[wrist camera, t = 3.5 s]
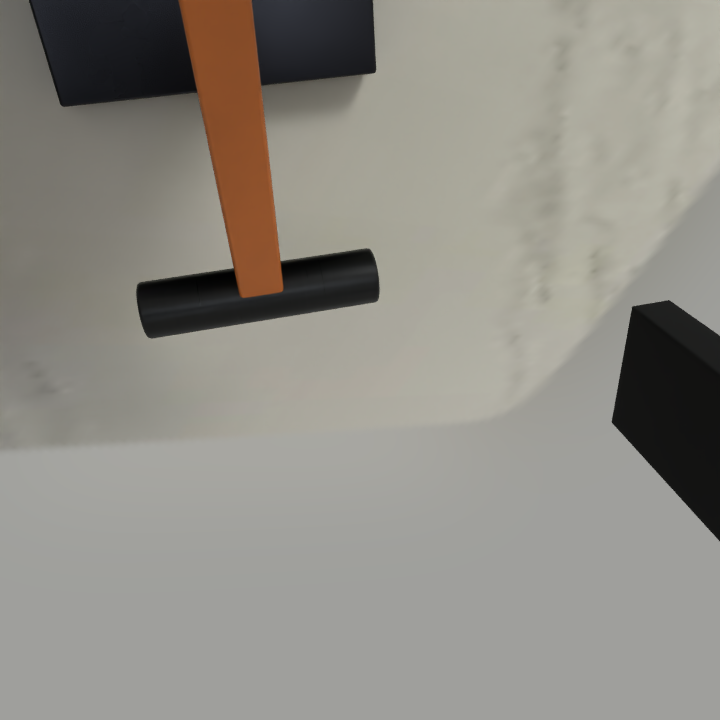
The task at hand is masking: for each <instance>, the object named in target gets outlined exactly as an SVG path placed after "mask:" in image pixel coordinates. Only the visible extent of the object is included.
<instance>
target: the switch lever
mask: <svg viewBox="0 0 720 720" xmlns="http://www.w3.org/2000/svg"><path fill="white" fill-rule="evenodd" d="M178 1H179V6H180V11H181V15H182V20H183V25H184V30H185V35H186V40H187V44H188V49H189V54H190V59H191V64H192V69H193V73H194V78H195V83H196V88H197V93H198V97H199V102H200V107H201V112H202V117H203V122H204V126H205V131H206V136H207V141H208V146H209V151H210V155H211V160H212V165H213V170H214V175H215V180H216V184H217V189H218V194H219V199H220V204H221V208H222V213H223V218H224V223H225V228H226V233H227V237H228V242H229V247H230V252H231V257H232V262H233V266H234V268H232V269H225V270H219V271H212V272H205V273H199V274H192V275H185V276H179V277H172V278H165V279H159V280H152V281H145V282H140V283H138V285H137V289H136V297H137V305H138V311H139V316H140V320H141V324H142V327H143V329H144V332H145V334H146V335H147V337H148V338H158V337H164V336H170V335H177V334H183V333H189V332H195V331H201V330H207V329H214V328H220V327H226V326H232V325H238V324H244V323H251V322H257V321H263V320H269V319H275V318H281V317H287V316H294V315H300V314H306V313H312V312H318V311H324V310H331V309H337V308H343V307H349V306H355V305H361V304H368V303H374V302H376V301H378V298H379V276H378V270H377V265H376V261H375V258H374V255H373V253H372V251H371V250H370V249H367V248H366V249H359V250H353V251H346V252H339V253H333V254H326V255H319V256H312V257H306V258H299V259H292V260H286V261H280V252H279V243H278V234H277V225H276V216H275V207H274V198H273V189H272V180H271V171H270V162H269V153H268V144H267V135H266V126H265V117H264V108H263V98H262V89H261V80H260V71H259V62H258V53H257V44H256V35H255V26H254V17H253V8H252V0H178Z"/></svg>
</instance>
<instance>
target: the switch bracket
mask: <svg viewBox="0 0 720 720" xmlns="http://www.w3.org/2000/svg"><path fill="white" fill-rule="evenodd" d="M29 3H30V6H31V9H32V13H33V16H34V19H35V22H36V26H37V29H38V32H39V36H40V39H41V42H42V46H43V49H44V52H45V55H46V59H47V62H48V65H49V69H50V72H51V75H52V79H53V82H54V85H55V88H56V92H57V95H58V98H59V102H60V104H61V106H63V107H68V106H77V105H86V104H95V103H105V102H114V101H123V100H132V99H141V98H151V97H160V96H169V95H178V94H188V93H197V88H196V83H195V78H194V73H193V69H192V64H191V59H190V54H189V49H188V44H187V40H186V35H185V30H184V25H183V20H182V15H181V11H180V6H179V1H178V0H29ZM252 8H253V17H254V26H255V35H256V44H257V53H258V62H259V71H260V80H261V85H270V84H280V83H289V82H298V81H307V80H316V79H326V78H335V77H344V76H353V75H363V74H372V73H375V72H376V57H375V37H374V17H373V0H252Z"/></svg>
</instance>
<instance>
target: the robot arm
mask: <svg viewBox="0 0 720 720" xmlns="http://www.w3.org/2000/svg"><path fill="white" fill-rule="evenodd" d="M612 423H613V424H614V425H615V426H616V427H617V429H618V430H619V431H620V432H621V433H622V434H623V435H624V436H625V437H626V439H627V440H628V441H629V442H630V443H631V444H632V445H633V446H634V447H635V448H636V450H637V451H638V452H639V453H640V454H641V455H642V456H643V457H644V458H645V459H646V461H647V462H648V463H649V464H650V465H651V466H652V467H653V468H654V469H655V470H656V472H657V473H658V474H659V475H660V476H661V477H662V478H663V479H664V480H665V481H666V483H667V484H668V485H669V486H670V487H671V488H672V489H673V490H674V491H675V492H676V494H677V495H678V496H679V497H680V498H681V499H682V500H683V501H684V502H685V503H686V505H687V506H688V507H689V508H690V509H691V510H692V511H693V512H694V513H695V514H696V516H697V517H698V518H699V519H700V520H701V521H702V522H703V523H704V524H705V525H706V527H707V528H708V529H709V530H710V531H711V532H712V533H713V534H714V535H715V536H716V538H717V539H718V540H719V541H720V336H719V335H718V334H716V333H715V332H714V331H712V330H711V329H709V328H708V327H706V326H705V325H704V324H702V323H701V322H699V321H698V320H697V319H695V318H694V317H692V316H691V315H689V314H688V313H686V312H685V311H684V310H682V309H681V308H679V307H678V306H677V305H675V304H674V303H672V302H671V301H669V300H668V301H662V302H656V303H650V304H645V305H639V306H633V307H632V312H631V317H630V323H629V328H628V334H627V339H626V345H625V351H624V356H623V362H622V367H621V373H620V379H619V385H618V390H617V395H616V401H615V408H614V412H613V418H612Z"/></svg>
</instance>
